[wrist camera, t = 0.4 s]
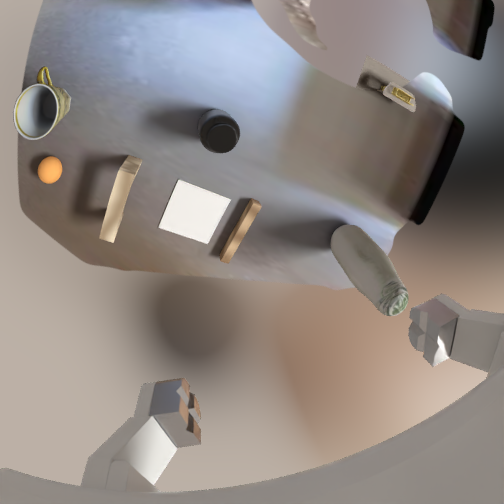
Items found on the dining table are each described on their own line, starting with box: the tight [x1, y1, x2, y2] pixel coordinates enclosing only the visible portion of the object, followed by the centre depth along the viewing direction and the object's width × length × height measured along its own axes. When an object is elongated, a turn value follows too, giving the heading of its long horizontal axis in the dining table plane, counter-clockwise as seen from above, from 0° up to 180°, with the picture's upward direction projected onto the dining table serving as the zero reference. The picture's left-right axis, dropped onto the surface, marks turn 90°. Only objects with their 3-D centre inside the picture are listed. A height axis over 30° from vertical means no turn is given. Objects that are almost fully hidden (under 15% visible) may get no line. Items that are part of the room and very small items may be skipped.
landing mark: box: [158, 180, 231, 244], centre depth 61 cm, size 12×12×1 cm
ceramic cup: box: [13, 67, 71, 140], centre depth 35 cm, size 13×10×10 cm
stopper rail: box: [219, 198, 262, 263], centre depth 65 cm, size 16×2×2 cm, turn 151°
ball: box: [38, 156, 62, 183], centre depth 45 cm, size 6×6×6 cm
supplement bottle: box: [198, 109, 240, 153], centre depth 46 cm, size 7×7×12 cm
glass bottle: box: [331, 225, 408, 316], centre depth 62 cm, size 10×10×28 cm
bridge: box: [99, 155, 142, 243], centre depth 50 cm, size 3×14×9 cm, turn 151°
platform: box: [356, 56, 416, 112], centre depth 50 cm, size 12×18×7 cm, turn 74°
